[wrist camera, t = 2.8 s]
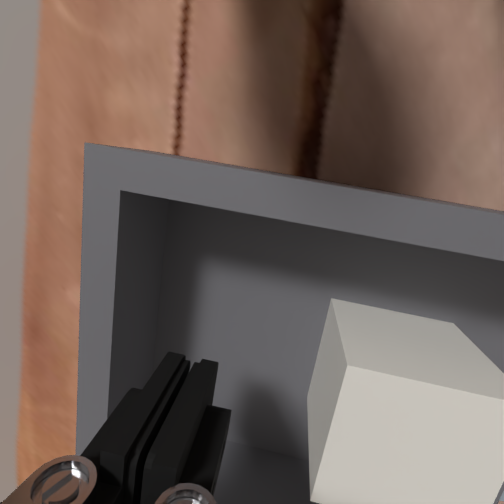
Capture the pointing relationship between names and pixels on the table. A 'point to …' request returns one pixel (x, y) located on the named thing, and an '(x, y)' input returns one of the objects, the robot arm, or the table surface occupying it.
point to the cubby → (260, 291)
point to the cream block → (402, 412)
